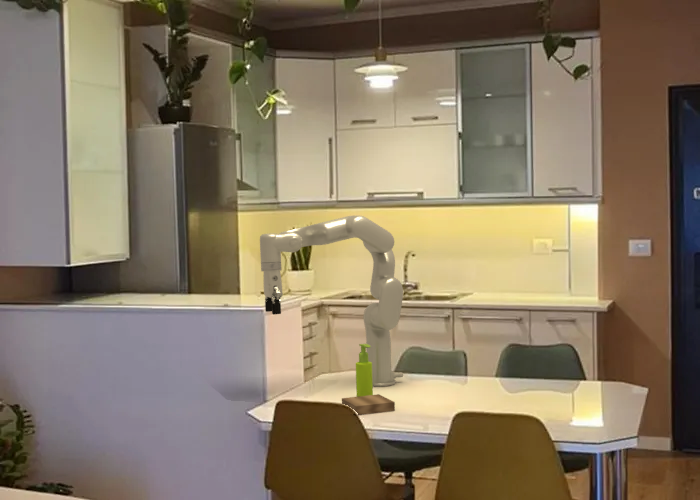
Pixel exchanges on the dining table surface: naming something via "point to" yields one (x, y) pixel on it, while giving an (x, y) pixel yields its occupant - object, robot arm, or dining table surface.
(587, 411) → the dining table surface
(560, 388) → the dining table surface
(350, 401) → the block
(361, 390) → the soap dispenser
